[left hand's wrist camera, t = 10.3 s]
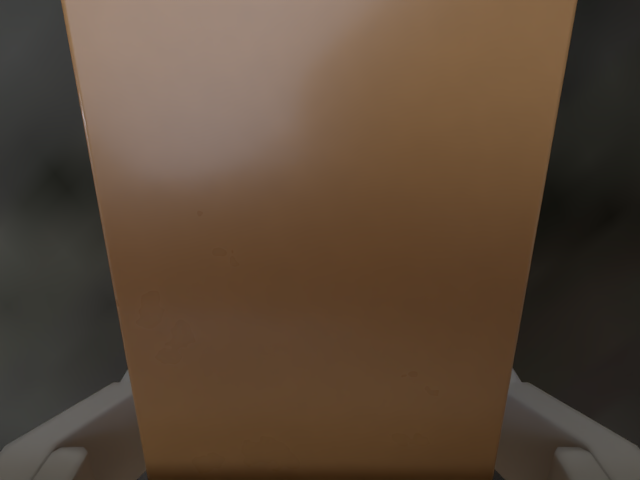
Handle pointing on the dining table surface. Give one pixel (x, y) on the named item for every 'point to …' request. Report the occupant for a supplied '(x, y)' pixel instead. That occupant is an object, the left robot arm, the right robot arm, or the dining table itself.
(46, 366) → the dining table surface
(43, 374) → the dining table surface
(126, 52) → the post
